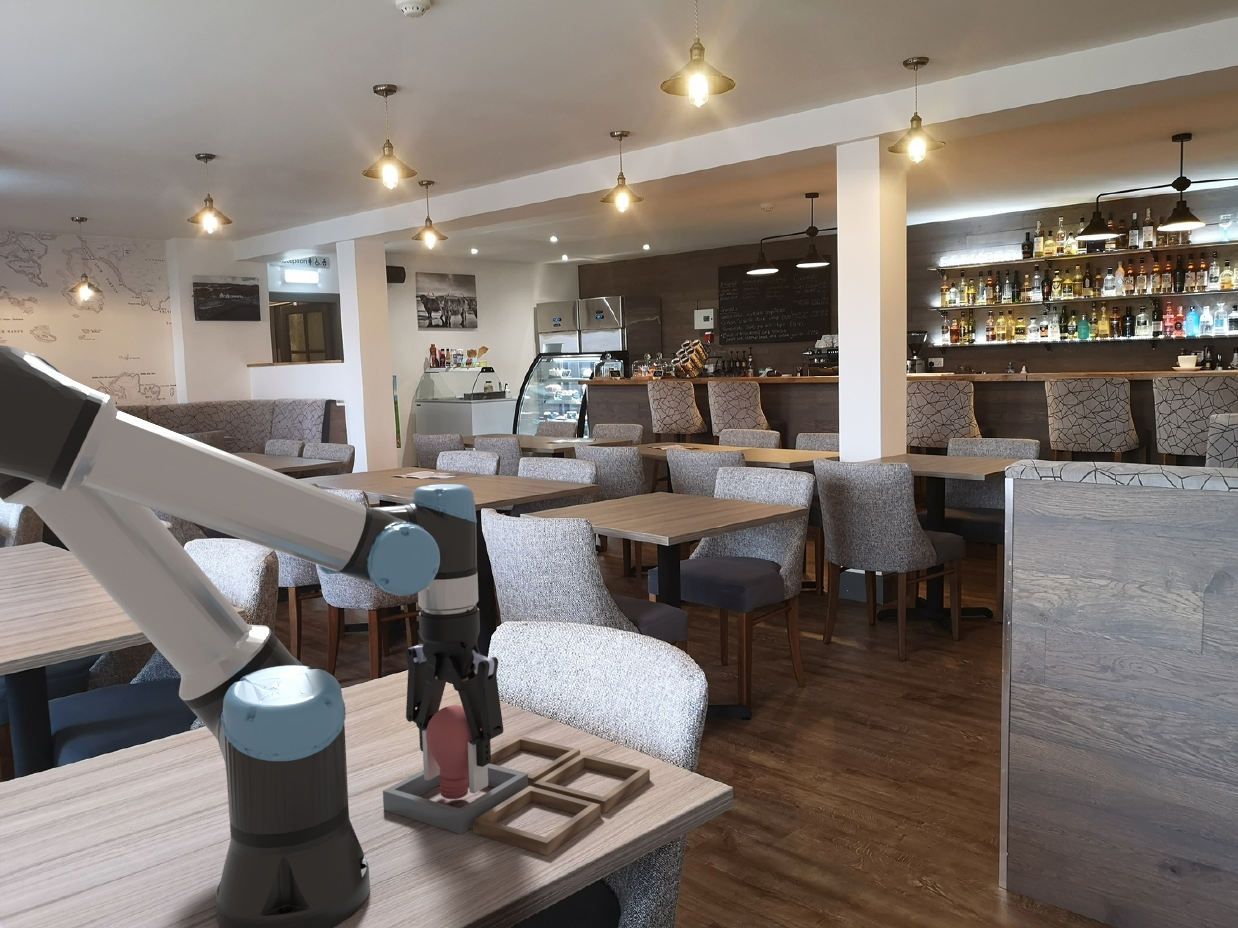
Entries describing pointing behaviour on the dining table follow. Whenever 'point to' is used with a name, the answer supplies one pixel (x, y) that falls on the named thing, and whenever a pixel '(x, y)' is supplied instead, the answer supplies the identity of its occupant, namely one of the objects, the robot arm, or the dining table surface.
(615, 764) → the frame
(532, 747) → the frame
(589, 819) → the frame
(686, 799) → the dining table surface
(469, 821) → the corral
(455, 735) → the light bulb
